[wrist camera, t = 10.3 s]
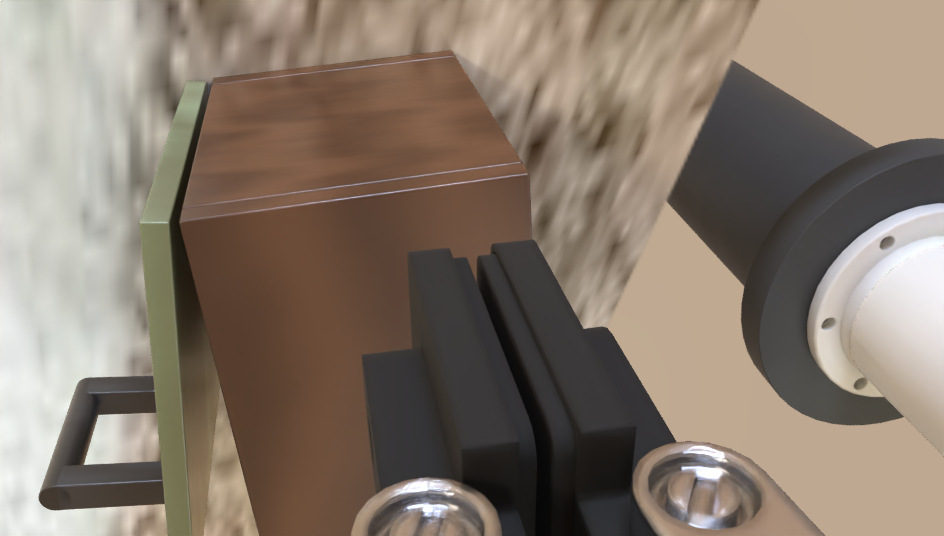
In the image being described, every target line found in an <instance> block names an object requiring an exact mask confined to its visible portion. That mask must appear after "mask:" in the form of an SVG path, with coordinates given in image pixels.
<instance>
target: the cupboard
mask: <svg viewBox="0 0 944 536" xmlns="http://www.w3.org/2000/svg"><path fill="white" fill-rule="evenodd" d="M179 225H180V229H181V233H182V237H183V241H184V245H185V249H186V252H187V256H188V260H189V264H190V268H191V272H192V276H193V280H194V284H195V288H196V292H197V295H198V299H199V303H200V307H201V311H202V315H203V319H204V323H205V327H206V331H207V334H208V338H209V342H210V346H211V350H212V354H213V358H214V362H215V366H216V370H217V374H218V377H219V381H220V385H221V389H222V393H223V397H224V401H225V405H226V409H227V413H228V416H229V420H230V424H231V428H232V432H233V436H234V440H235V444H236V448H237V452H238V455H239V459H240V463H241V467H242V471H243V475H244V479H245V483H246V487H247V491H248V495H249V498H250V502H251V506H252V510H253V514H254V518H255V522H256V526H257V530H258V534H259V536H351V532H352V528H353V525H354V522H355V519H356V516H357V514H358V513H359V511H360V510H361V509H362V508H363V506H364V505H365V504H366V503H367V501H368V500H369V499H371V498H372V497H373V496H375V495H376V491H375V483H374V476H373V468H372V460H371V451H370V442H369V433H368V423H367V413H366V403H365V392H364V381H363V369H362V355H363V354H371V353H380V352H389V351H397V350H406V349H412V336H411V318H410V300H409V282H408V263H407V256H408V252H412V251H422V250H432V249H442V248H450V250H451V253H452V255H453V258H460V257H467V259H468V262H469V264H470V267H471V269H472V272H473V275H474V277H475V280H476V282H477V257H478V256H480V255H490V251H491V246H492V244H493V243H503V242H513V241H523V240H532V225H531V197H530V175H529V173H528V171H527V170H526V168H525V166H524V165H523V163H522V161H521V160H520V158H519V156H518V155H517V153H516V152H515V150H514V148H513V147H512V145H511V144H510V142H509V141H508V139H507V137H506V136H505V134H504V133H503V131H502V129H501V128H500V126H499V125H498V123H497V121H496V120H495V118H494V117H493V115H492V114H491V112H490V110H489V109H488V107H487V106H486V104H485V102H484V101H483V99H482V98H481V96H480V95H479V93H478V91H477V90H476V88H475V87H474V85H473V83H472V82H471V80H470V79H469V77H468V75H467V74H466V72H465V71H464V69H463V68H462V66H461V64H460V63H459V61H458V60H457V58H456V57H455V55H454V53H453V52H452V51H442V52H434V53H425V54H417V55H408V56H399V57H391V58H382V59H374V60H365V61H357V62H348V63H339V64H331V65H322V66H314V67H305V68H297V69H288V70H280V71H271V72H262V73H254V74H245V75H237V76H228V77H220V78H214V79H213V82H212V87H211V91H210V95H209V99H208V103H207V107H206V112H205V116H204V120H203V124H202V128H201V132H200V136H199V141H198V145H197V149H196V153H195V157H194V161H193V165H192V170H191V174H190V178H189V182H188V186H187V190H186V194H185V199H184V203H183V207H182V212H181V216H180V220H179Z"/></svg>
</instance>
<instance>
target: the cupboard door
mask: <svg viewBox="0 0 944 536" xmlns="http://www.w3.org/2000/svg"><path fill="white" fill-rule="evenodd" d="M206 107H207V84H206V82H205V81H186V84H185V87H184V90H183V93H182V96H181V99H180V102H179V105H178V108H177V111H176V114H175V117H174V120H173V123H172V126H171V129H170V132H169V135H168V139H167V142H166V145H165V148H164V151H163V154H162V157H161V160H160V163H159V166H158V169H157V172H156V175H155V178H154V181H153V184H152V187H151V190H150V193H149V196H148V199H147V202H146V205H145V208H144V211H143V214H142V217H141V220H140V223H139V224H140V235H141V246H142V257H143V268H144V279H145V290H146V301H147V312H148V323H149V334H150V345H151V356H152V367H153V376H132V377H97V378H85V379H82V380H81V381H79V382H78V384H77V386H76V389H75V392H74V395H73V398H72V401H71V404H70V407H69V409H68V412H67V415H66V418H65V421H64V424H63V427H62V430H61V433H60V435H59V438H58V441H57V444H56V447H55V450H54V453H53V456H52V459H51V462H50V464H49V467H48V470H47V473H46V476H45V479H44V482H43V485H42V488H41V491H40V493H39V501H40V503H41V504H42V505H43V506H44V507H45V508H47V509H50V510H67V509H84V508H102V507H119V506H137V505H154V504H165V511H166V522H167V533H168V536H204V527H205V518H206V508H207V499H208V490H209V480H210V471H211V462H212V452H213V443H214V434H215V425H216V415H217V406H218V397H219V387H220V381H219V377H218V374H217V370H216V366H215V362H214V358H213V354H212V350H211V346H210V342H209V338H208V334H207V331H206V327H205V323H204V319H203V315H202V311H201V307H200V303H199V299H198V295H197V292H196V288H195V284H194V280H193V276H192V272H191V268H190V264H189V260H188V256H187V252H186V249H185V245H184V241H183V237H182V233H181V229H180V225H179V220H180V216H181V212H182V207H183V203H184V199H185V194H186V190H187V186H188V182H189V178H190V174H191V170H192V165H193V161H194V157H195V153H196V149H197V145H198V141H199V136H200V132H201V128H202V124H203V120H204V116H205V112H206ZM132 413H157V423H158V434H159V445H160V456H161V461H157V462H136V463H115V464H94V465H84V462H85V458H86V455H87V452H88V448H89V445H90V442H91V438H92V435H93V431H94V428H95V425H96V421H97V418H98V415H105V414H132Z"/></svg>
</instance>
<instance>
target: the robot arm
mask: <svg viewBox="0 0 944 536" xmlns="http://www.w3.org/2000/svg"><path fill="white" fill-rule="evenodd" d="M407 263H408V282H409V300H410V318H411V336H412V349H406V350H397V351H389V352H380V353H371V354H363V355H362V369H363V381H364V392H365V403H366V413H367V423H368V433H369V442H370V451H371V460H372V468H373V476H374V483H375V491H376V495H375V496H373V497H372V498H371V499H369V500H368V501H367V503H366V504H365V505H364V506H363V508H362V509H361V510H360V511H359V513H358V514H357V516H356V519H355V522H354V525H353V528H352V532H351V536H825V535H824V534H823V533H822V532H821V531H820V529H818V527H817V526H816V525H815V524H814V523H813V522H812V521H811V520H810V519H809V518H808V517H807V516H806V515H805V513H804V512H803V511H802V510H801V509H800V508H799V507H798V506H797V505H796V504H795V503H794V502H793V501H792V500H791V499H790V497H789V496H788V495H787V494H786V493H785V492H784V491H783V490H782V489H781V488H780V487H779V486H778V485H777V484H776V483H775V481H773V479H772V478H771V477H770V476H769V475H768V474H767V473H766V472H765V471H764V470H763V469H762V468H760V467H759V466H758V465H757V464H755V463H754V462H753V461H752V460H751V459H749V458H748V457H746V456H744V455H742V454H740V453H738V452H736V451H734V450H732V449H729V448H725V447H722V446H719V445H715V444H711V443H704V442H692V441H685V442H678V443H677V442H676V440H675V439H674V437H673V435H672V433H671V432H670V430H669V428H668V427H667V425H666V423H665V422H664V420H663V418H662V417H661V415H660V413H659V412H658V410H657V408H656V407H655V405H654V403H653V402H652V400H651V398H650V397H649V395H648V393H647V392H646V390H645V388H644V387H643V385H642V383H641V381H640V380H639V378H638V376H637V375H636V373H635V372H634V370H633V368H632V366H631V365H630V363H629V361H628V360H627V358H626V356H625V355H624V353H623V351H622V350H621V348H620V346H619V345H618V343H617V341H616V340H615V338H614V336H613V335H612V333H611V332H610V331H609V330H608V328H605V327H596V328H587V329H583V327H582V325H581V324H580V322H579V320H578V318H577V316H576V314H575V313H574V311H573V309H572V307H571V305H570V304H569V302H568V300H567V298H566V296H565V294H564V293H563V291H562V289H561V287H560V285H559V284H558V282H557V280H556V278H555V276H554V274H553V273H552V271H551V269H550V267H549V265H548V264H547V262H546V260H545V258H544V256H543V254H542V253H541V251H540V249H539V247H538V245H537V243H536V242H535V241H534V240H523V241H513V242H503V243H493V244H492V246H491V251H490V255H480V256H478V257H477V282H476V280H475V277H474V275H473V272H472V269H471V267H470V264H469V262H468V259H467V257H460V258H453V255H452V253H451V250H450V248H442V249H432V250H422V251H412V252H408V256H407ZM807 340H808V344H809V347H810V351H811V354H812V356H813V358H814V360H815V361H816V363H817V365H818V367H819V368H820V369H821V370H822V371H823V372H824V373H825V374H826V375H827V377H828V378H829V379H830V380H831V381H833V382H834V383H835V384H837V385H838V386H839V387H841V388H842V389H844V390H846V391H849V392H851V393H853V394H857V395H862V396H868V397H885V398H886V399H887V400H888V401H889V402H890V403H891V404H892V405H893V406H894V407H895V408H896V409H897V410H898V411H899V412H900V413H901V414H902V415H903V416H904V417H905V418H906V419H907V420H908V421H909V422H910V423H911V424H912V425H913V426H914V427H915V428H916V429H917V430H918V431H919V432H920V433H921V434H922V435H923V436H924V437H925V438H926V439H927V440H928V441H929V443H931V445H933V447H934V448H935V449H937V451H938V452H939V453H940V454H941V455H942V456H943V457H944V203H936V204H930V205H923V206H917V207H914V208H911V209H908V210H905V211H902V212H899V213H897V214H895V215H893V216H891V217H889V218H887V219H885V220H883V221H881V222H879V223H877V224H876V225H874V226H873V227H871V228H870V229H869V230H867V231H866V232H864V233H863V234H861V235H860V236H859V237H858V238H856V239H855V240H854V241H853V242H852V243H851V244H850V245H849V246H848V247H847V248H846V249H845V250H843V251H842V253H841V254H840V255H839V256H838V258H837V259H836V260H835V261H834V262H833V264H832V265H831V266H830V267H829V269H828V270H827V272H826V274H825V275H824V277H823V279H822V280H821V282H820V284H819V285H818V287H817V290H816V292H815V295H814V297H813V300H812V302H811V305H810V310H809V315H808V320H807Z"/></svg>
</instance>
